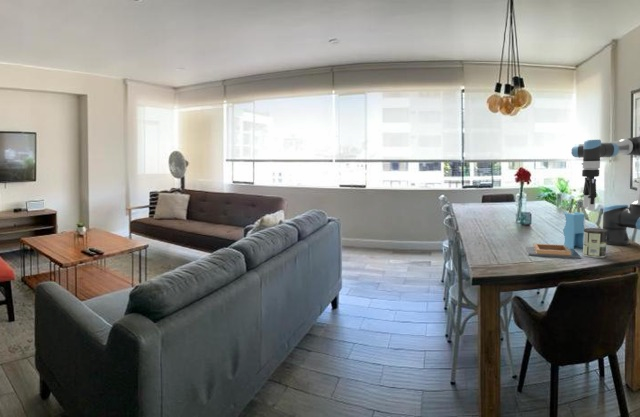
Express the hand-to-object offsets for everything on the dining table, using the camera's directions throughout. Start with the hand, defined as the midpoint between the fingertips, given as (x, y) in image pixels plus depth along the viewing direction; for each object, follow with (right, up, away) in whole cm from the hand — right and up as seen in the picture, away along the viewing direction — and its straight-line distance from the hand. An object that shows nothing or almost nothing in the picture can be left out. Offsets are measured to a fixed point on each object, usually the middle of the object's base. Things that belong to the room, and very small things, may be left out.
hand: (588, 208), depth 213 cm
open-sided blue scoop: (+4, -23, +20) cm, 30 cm away
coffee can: (+3, -25, 0) cm, 26 cm away
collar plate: (-16, -25, +8) cm, 30 cm away
